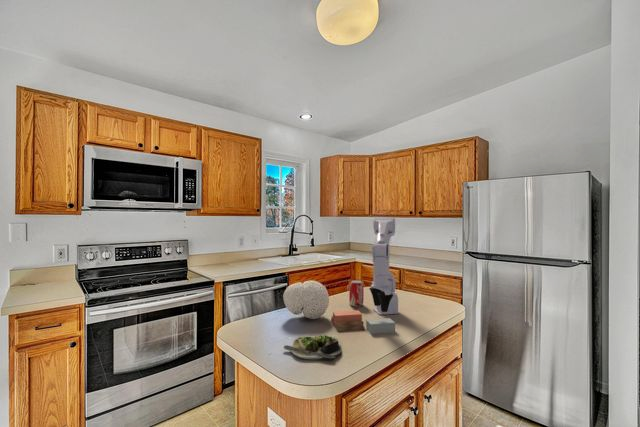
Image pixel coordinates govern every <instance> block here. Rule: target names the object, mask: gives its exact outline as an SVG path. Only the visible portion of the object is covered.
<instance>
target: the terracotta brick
mask: <svg viewBox="0 0 640 427" xmlns="http://www.w3.org/2000/svg"><path fill="white" fill-rule="evenodd" d="M332 316H333V322H334V324H335V326H336V323H338V322H353V321H363V313H362V312H360V310H342V311H341V310H340V311H332Z"/></svg>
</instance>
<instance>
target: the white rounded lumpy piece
mask: <svg viewBox="0 0 640 427" xmlns="http://www.w3.org/2000/svg"><path fill="white" fill-rule="evenodd" d="M282 297H283V299H282V300H283V303H284V305H285V307H286V308H287V310H288V311H289V312H290V313H291V314H293V315H295V316H297V315H300V314H303V316H304V317H305V318H308V319H310V320H315V319H317V318H318V319H319V318H320V317H322V316H323V315H324V314H326V311H327V309H328V307H329V303H330V296H329V293H328V290H327V288H326V286H324V285H323V284H322V283H321V282H319V281H316V280H312V279H311V280H306V281H304V282H303V283H302V282H301V281H300V282H295V283H292V284H290V285H289V286H287V287H286V289H285V290H284V292H283V294H282Z"/></svg>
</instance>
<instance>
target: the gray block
mask: <svg viewBox="0 0 640 427" xmlns="http://www.w3.org/2000/svg"><path fill="white" fill-rule="evenodd" d="M365 321H366V322H365V329H366V331H367V332H368V333H369V335H376V334H377V335H378V334H379V335H380V334H389V333H390V334H391V333H396V322H395V321H394V320H392V319H391V317H388V318H373V319H366V320H365Z"/></svg>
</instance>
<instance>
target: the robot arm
mask: <svg viewBox="0 0 640 427" xmlns="http://www.w3.org/2000/svg"><path fill="white" fill-rule="evenodd" d="M372 223H373V230H374V234H375V237H374V244H372V246H371V255H372V266H373V268H372V270H373V275H372V278H373V280H372V281H371V285H370V287H369V291H370V293H371V296H372V300H373V305H374V306H375V308H373V310H374V311H375V312H376V313H377V314H378V315H380V316H381V315H397V314H399V313H400V312H399V297H398V294H397V293H396V277H395V275H394V273H392V272H390V241H391V238H392V237H393V236H395V234H396V218H395V216H394V217H373V222H372Z"/></svg>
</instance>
